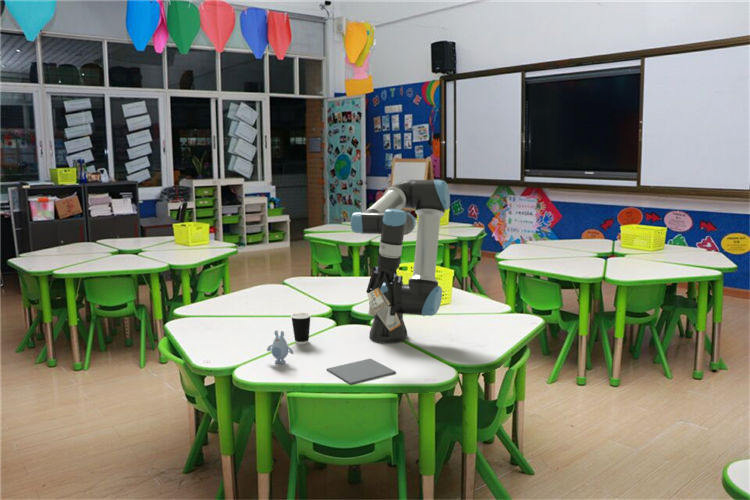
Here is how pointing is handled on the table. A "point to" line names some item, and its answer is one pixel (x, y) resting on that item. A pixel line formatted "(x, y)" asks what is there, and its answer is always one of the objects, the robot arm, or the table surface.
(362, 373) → the mat
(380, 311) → the supplement box
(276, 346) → the toy figure
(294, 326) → the dixie cup
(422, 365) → the table surface
